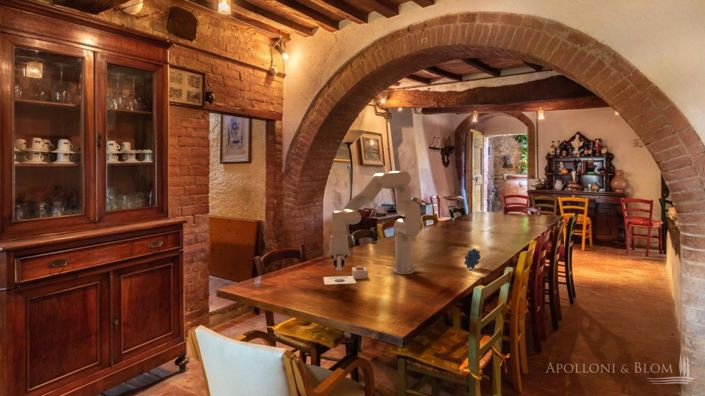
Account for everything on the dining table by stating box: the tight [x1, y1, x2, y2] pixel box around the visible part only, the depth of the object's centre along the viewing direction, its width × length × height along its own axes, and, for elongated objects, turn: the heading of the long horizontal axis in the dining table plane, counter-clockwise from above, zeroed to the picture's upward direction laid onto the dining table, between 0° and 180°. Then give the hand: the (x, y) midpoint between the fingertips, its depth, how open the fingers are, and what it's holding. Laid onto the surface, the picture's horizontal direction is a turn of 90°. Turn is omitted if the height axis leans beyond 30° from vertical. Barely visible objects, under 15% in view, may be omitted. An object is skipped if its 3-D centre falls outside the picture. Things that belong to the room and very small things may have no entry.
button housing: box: [351, 266, 369, 280], centre depth 234 cm, size 8×8×4 cm
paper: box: [323, 275, 357, 286], centre depth 227 cm, size 17×14×1 cm
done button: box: [355, 265, 364, 270], centre depth 234 cm, size 4×4×3 cm
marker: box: [335, 255, 343, 271], centre depth 225 cm, size 3×3×10 cm
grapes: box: [464, 248, 482, 269], centre depth 251 cm, size 12×7×12 cm, turn 112°
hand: (339, 266), depth 225 cm, fingers closed on marker, 3 cm apart
